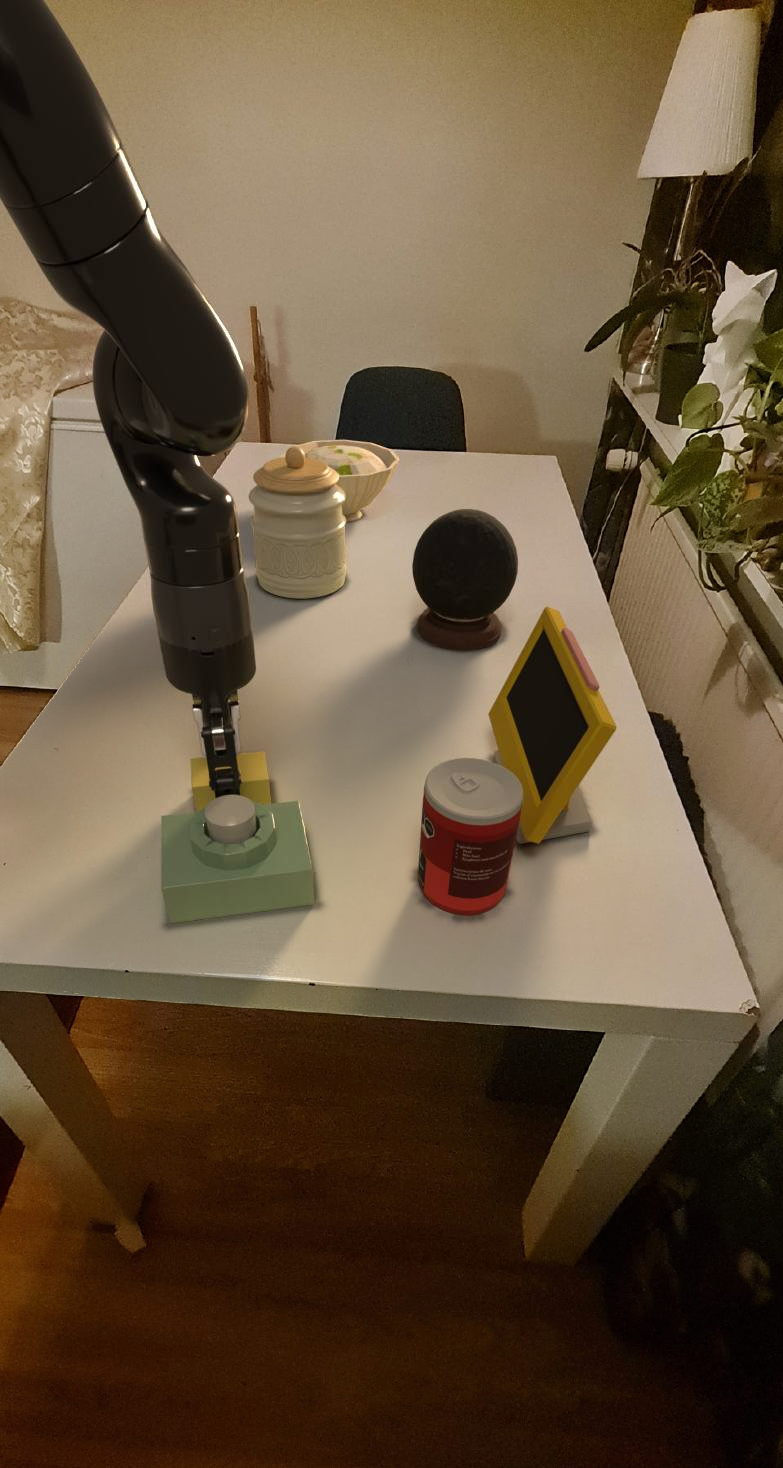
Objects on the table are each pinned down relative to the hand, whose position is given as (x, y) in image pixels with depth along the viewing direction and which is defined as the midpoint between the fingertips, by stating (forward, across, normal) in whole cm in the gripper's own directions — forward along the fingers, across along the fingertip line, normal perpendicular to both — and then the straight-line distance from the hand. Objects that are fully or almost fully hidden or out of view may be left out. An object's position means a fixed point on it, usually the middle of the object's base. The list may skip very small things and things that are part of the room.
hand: (227, 783), depth 73 cm
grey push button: (-3, +10, 0) cm, 11 cm away
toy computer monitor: (+2, +5, +30) cm, 31 cm away
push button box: (+3, +10, 0) cm, 11 cm away
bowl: (+2, -74, +23) cm, 78 cm away
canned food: (+3, +15, +19) cm, 24 cm away
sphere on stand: (+2, -31, +32) cm, 45 cm away
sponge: (+2, 0, 0) cm, 2 cm away
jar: (+2, -49, +13) cm, 51 cm away
